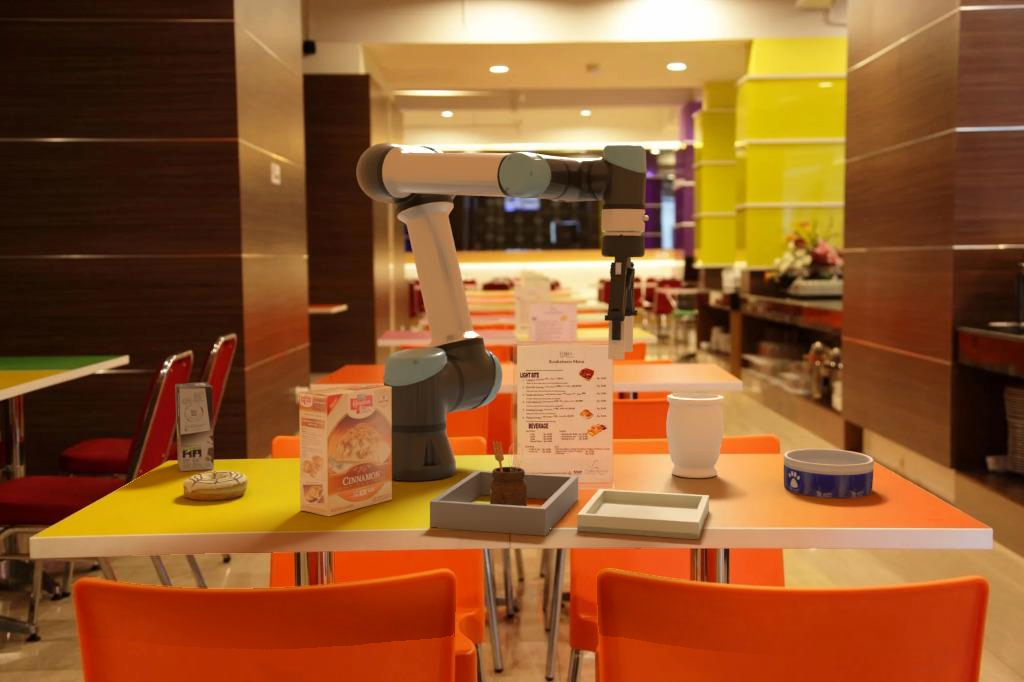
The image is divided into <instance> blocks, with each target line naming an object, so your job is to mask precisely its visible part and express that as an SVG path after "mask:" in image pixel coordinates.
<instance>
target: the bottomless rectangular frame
mask: <svg viewBox="0 0 1024 682" xmlns="http://www.w3.org/2000/svg"><path fill="white" fill-rule="evenodd" d="M492 473H493V470H492V471H491V470H475V471H473V472H471V474H469V475H468V476H466V477H464V478H463V479H461V480H460V481H459V482H457V483H456V484H454V485H453V486H451V487H449V488H448V489H447V490H445V491H443V492H442V493H440V494H439V495H437V496H436V497H434V498H433V499H431V500H430V501H429V528H430V527H440V528H439V529H444V528H451V529H450V530H458V529H459V531H461V530H463V531H473V532H475V531H476V532H487V533H488V532H489V533H501V534H517V535H530V536H540V537H541V536H542V537H543V536H544V537H545V536H546V535H548V534H549V532H550V531H551V530H550V528H552V527H553V526H554V525H555V526H556V524H558V522H559V521H560V520H561V519H562V518H563V517H564V516H565V515H566V513H567V512H568V511H570V509H571V508H572V507H573V506H574V505H575V503H577V501H578V500H579V475H566V474H565V475H561V474H547V473H546V474H545V473H525V477H524V478H523V479H524V480H525V482H526V485H527V499H528V498H529V499H539V500H540V499H542V500H546V501H545V502H544V503H543V504H542V505H541V506H530V505H529V506H528V505H527V506H516V505H500V504H490V503H483V502H482V503H481V502H474V501H475V500H476V499H477V498H478V497H479V496H490V485H491V482H492V480H493V479H494V478H493V477H492ZM555 526H554V527H555ZM554 527H553V528H554ZM553 528H552V529H553Z"/></svg>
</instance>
